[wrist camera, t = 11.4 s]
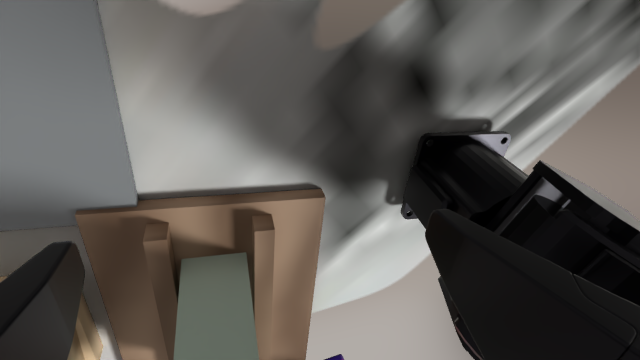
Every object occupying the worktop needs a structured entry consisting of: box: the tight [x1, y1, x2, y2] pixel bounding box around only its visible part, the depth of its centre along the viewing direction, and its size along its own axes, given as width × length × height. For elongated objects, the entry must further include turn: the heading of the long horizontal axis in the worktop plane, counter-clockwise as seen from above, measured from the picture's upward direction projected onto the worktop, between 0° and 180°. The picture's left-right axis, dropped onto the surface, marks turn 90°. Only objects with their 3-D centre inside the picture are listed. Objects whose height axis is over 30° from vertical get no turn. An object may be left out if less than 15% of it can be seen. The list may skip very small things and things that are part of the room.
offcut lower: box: [0, 276, 103, 360], centre depth 24 cm, size 5×8×2 cm, turn 175°
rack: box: [75, 189, 325, 360], centre depth 26 cm, size 14×18×2 cm
